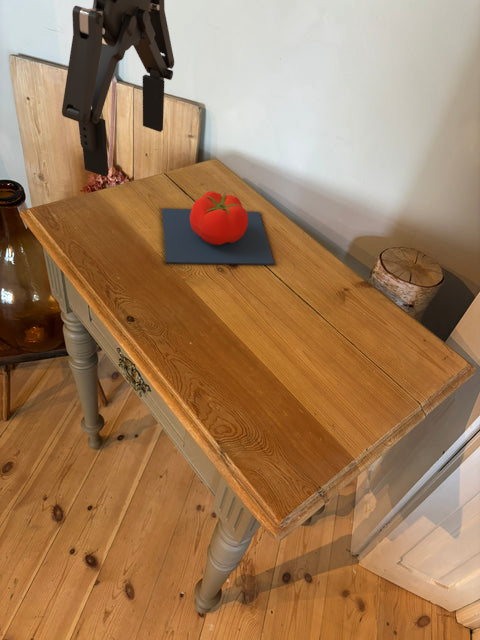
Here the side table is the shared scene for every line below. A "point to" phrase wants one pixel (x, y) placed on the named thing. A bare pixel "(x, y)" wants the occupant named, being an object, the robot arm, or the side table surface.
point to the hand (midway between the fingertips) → (127, 148)
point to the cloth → (194, 250)
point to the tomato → (218, 218)
